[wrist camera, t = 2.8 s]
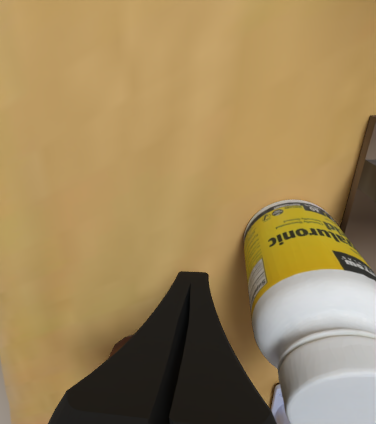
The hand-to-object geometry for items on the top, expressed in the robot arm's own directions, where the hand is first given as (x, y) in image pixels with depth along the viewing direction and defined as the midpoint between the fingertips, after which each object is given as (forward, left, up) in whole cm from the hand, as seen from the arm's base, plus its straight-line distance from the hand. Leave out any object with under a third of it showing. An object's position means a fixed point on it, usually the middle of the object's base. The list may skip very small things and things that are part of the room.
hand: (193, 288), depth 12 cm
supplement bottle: (0, -5, -5) cm, 7 cm away
